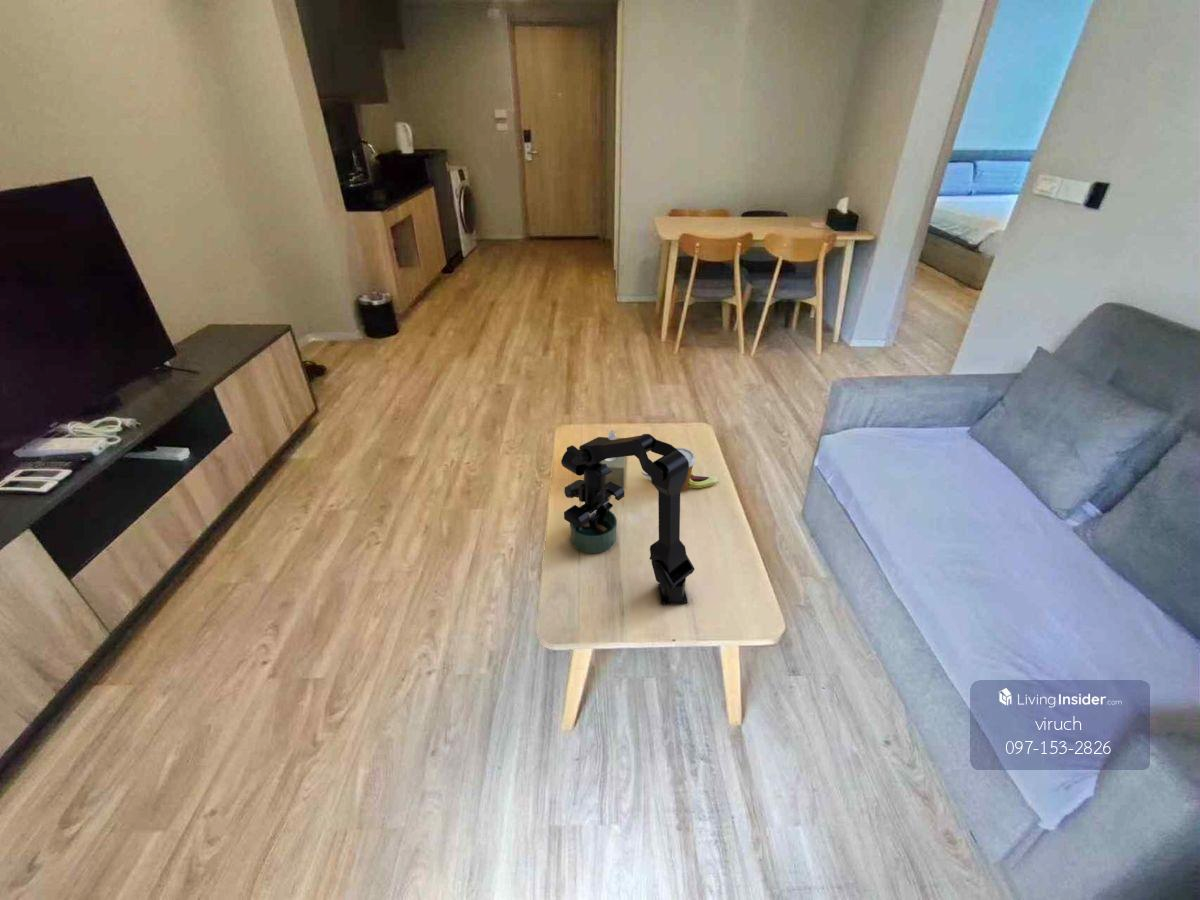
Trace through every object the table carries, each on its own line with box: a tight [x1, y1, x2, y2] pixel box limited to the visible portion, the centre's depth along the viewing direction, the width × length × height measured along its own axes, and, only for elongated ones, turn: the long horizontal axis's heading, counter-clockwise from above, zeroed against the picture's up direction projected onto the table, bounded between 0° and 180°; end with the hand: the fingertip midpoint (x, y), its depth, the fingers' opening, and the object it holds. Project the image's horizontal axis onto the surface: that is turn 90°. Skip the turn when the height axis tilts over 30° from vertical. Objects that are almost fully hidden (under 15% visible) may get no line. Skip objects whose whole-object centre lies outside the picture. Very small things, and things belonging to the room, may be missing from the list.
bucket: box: [569, 510, 618, 554], centre depth 151 cm, size 13×13×6 cm
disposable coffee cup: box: [675, 447, 696, 493], centre depth 170 cm, size 10×10×12 cm
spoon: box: [582, 523, 607, 535], centre depth 150 cm, size 9×4×2 cm, turn 48°
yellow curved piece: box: [640, 470, 719, 489], centre depth 175 cm, size 8×3×25 cm
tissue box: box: [601, 429, 626, 489], centre depth 176 cm, size 19×10×16 cm, turn 176°
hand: (595, 527), depth 150 cm, fingers closed on spoon, 1 cm apart
